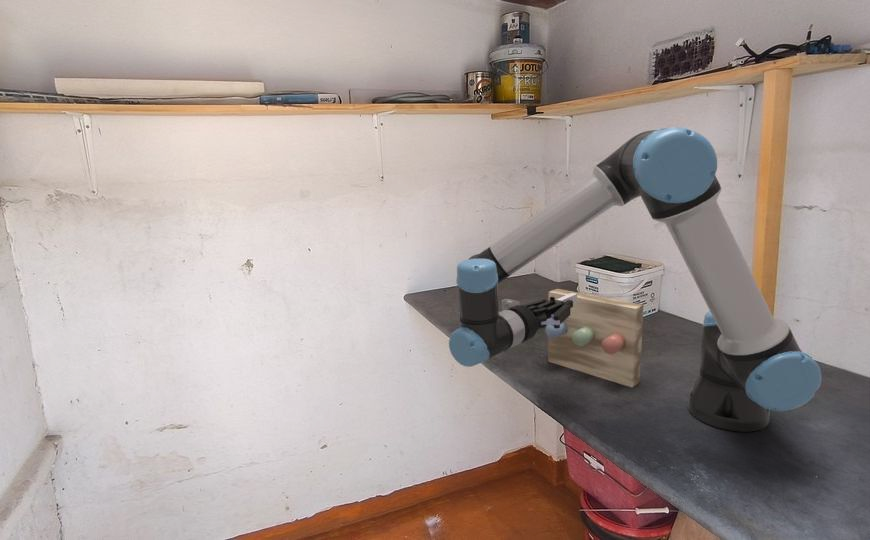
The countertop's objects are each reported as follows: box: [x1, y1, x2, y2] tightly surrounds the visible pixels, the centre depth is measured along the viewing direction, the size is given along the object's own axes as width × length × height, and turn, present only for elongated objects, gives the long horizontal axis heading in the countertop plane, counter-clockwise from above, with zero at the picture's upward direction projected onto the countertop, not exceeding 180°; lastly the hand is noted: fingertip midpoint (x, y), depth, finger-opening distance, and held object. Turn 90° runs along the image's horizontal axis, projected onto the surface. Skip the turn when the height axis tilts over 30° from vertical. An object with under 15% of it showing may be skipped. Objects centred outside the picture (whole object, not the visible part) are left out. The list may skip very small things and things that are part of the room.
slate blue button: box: [544, 322, 567, 339], centre depth 132 cm, size 4×4×4 cm
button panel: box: [547, 288, 644, 388], centre depth 129 cm, size 4×24×20 cm, turn 43°
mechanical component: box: [500, 298, 525, 311], centre depth 162 cm, size 3×10×10 cm, turn 41°
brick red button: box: [602, 334, 625, 354], centre depth 121 cm, size 4×4×4 cm
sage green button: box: [572, 326, 595, 346], centre depth 126 cm, size 4×4×4 cm
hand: (574, 298), depth 119 cm, fingers closed
